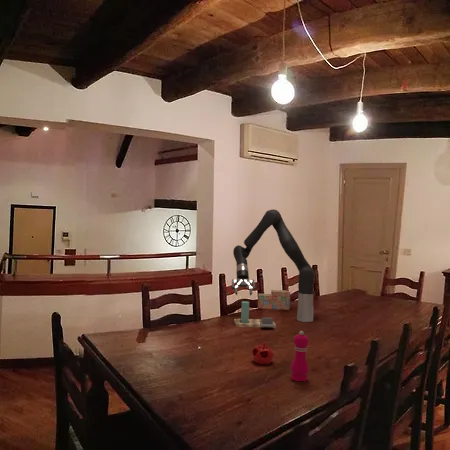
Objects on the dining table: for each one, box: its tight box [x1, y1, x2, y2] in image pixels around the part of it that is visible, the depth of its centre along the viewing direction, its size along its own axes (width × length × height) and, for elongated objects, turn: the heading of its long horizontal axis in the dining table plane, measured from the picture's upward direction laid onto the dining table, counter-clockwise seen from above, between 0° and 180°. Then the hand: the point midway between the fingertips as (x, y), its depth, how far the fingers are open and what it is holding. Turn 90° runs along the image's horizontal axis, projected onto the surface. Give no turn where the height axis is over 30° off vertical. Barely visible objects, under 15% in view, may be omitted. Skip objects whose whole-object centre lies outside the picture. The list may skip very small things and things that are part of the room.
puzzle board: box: [233, 318, 277, 329], centre depth 263 cm, size 23×12×2 cm, turn 95°
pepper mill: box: [290, 330, 310, 382], centre depth 183 cm, size 7×7×20 cm
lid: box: [260, 317, 275, 328], centre depth 255 cm, size 7×7×4 cm
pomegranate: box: [251, 341, 275, 365], centre depth 201 cm, size 10×10×9 cm
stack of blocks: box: [257, 289, 291, 311], centre depth 309 cm, size 21×6×12 cm, turn 92°
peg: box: [240, 300, 250, 323], centre depth 262 cm, size 4×4×13 cm
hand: (243, 294), depth 271 cm, fingers open, 8 cm apart
